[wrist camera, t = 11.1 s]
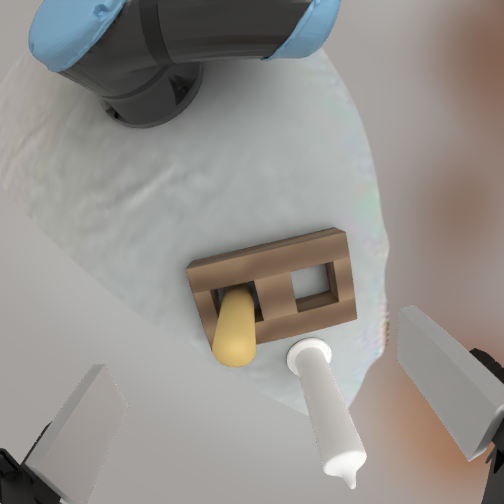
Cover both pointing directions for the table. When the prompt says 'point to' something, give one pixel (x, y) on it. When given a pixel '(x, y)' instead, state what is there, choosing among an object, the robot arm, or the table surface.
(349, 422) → the candle
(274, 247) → the socket block
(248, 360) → the peg
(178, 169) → the table surface
